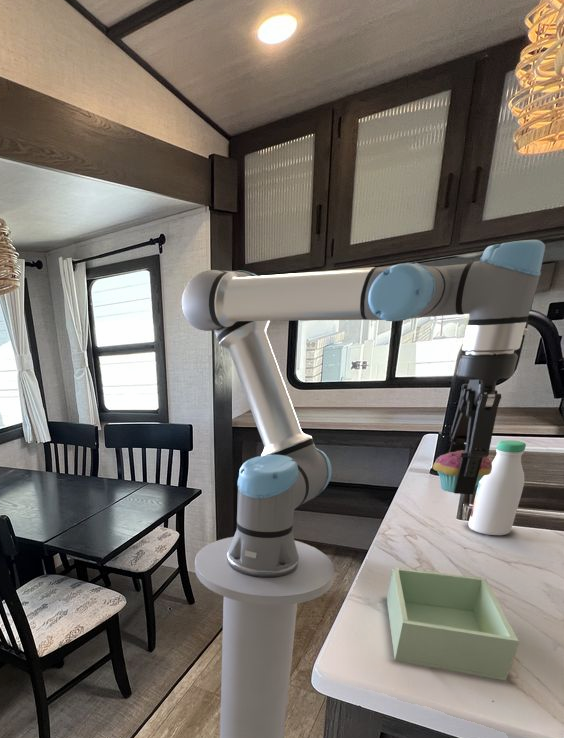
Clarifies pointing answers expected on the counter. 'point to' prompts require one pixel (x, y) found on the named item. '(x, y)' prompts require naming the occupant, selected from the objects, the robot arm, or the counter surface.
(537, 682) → the counter surface
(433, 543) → the counter surface
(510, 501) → the milk bottle
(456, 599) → the tub
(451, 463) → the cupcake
